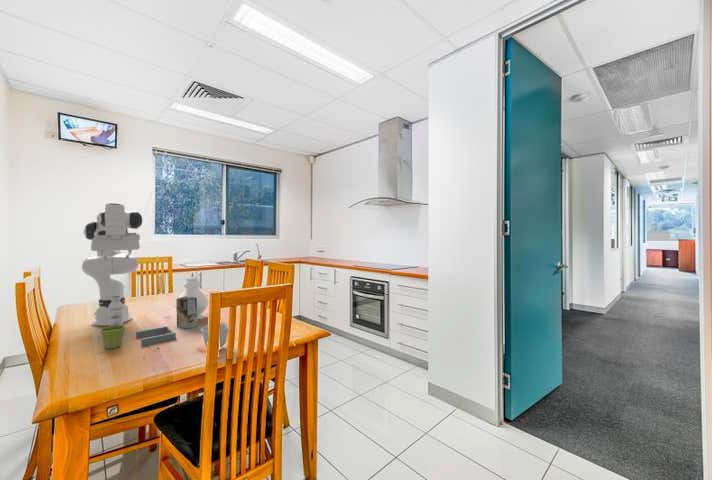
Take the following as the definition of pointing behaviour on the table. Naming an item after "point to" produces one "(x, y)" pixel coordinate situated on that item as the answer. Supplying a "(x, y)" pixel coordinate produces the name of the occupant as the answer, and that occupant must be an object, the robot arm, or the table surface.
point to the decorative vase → (195, 294)
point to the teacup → (222, 334)
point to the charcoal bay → (156, 339)
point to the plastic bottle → (115, 311)
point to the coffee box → (186, 312)
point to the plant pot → (112, 336)
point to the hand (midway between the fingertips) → (116, 258)
